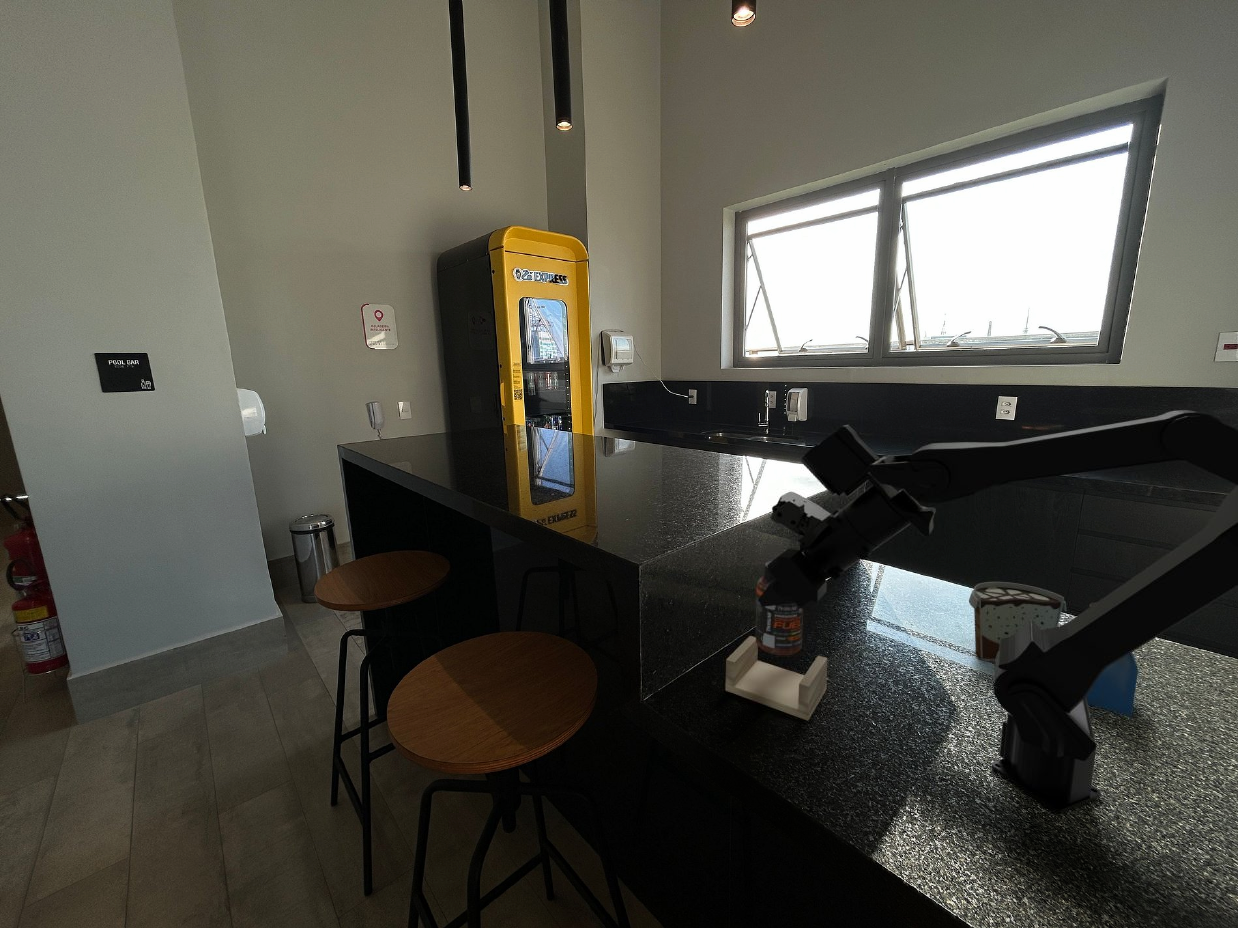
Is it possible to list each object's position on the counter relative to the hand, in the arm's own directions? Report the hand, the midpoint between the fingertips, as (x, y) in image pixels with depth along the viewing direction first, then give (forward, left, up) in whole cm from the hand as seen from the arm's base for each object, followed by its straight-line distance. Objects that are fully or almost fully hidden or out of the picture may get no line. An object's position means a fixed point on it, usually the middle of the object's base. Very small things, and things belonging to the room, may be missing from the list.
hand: (769, 594), depth 68 cm
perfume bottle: (-16, -39, -13) cm, 44 cm away
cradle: (-1, -1, -13) cm, 13 cm away
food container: (-4, -39, -13) cm, 41 cm away
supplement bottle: (-1, -1, -7) cm, 7 cm away
